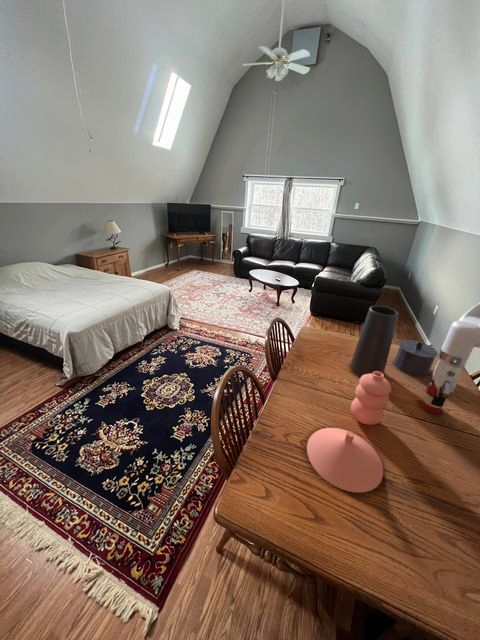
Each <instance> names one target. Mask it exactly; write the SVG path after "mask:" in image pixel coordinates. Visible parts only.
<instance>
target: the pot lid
mask: <svg viewBox="0 0 480 640" xmlns="http://www.w3.org/2000/svg"><path fill="white" fill-rule="evenodd" d="M398 346H399V347H401V349H403V350H404V351H406V352H407V353H409V354H412V355H414V356H418V357H422V358H435V359H436V357H438V355H439V352H438V351H437V350H436V349H435V348H434V347H433V346H431V345H429V344H427V343H425V341H423V340H411V339H403V340H401V341H400V342H399V343H398Z"/></svg>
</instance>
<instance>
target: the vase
mask: <svg viewBox="0 0 480 640" xmlns="http://www.w3.org/2000/svg"><path fill="white" fill-rule="evenodd" d="M399 315H400V313H399V312H398V311H397V310H396V309H394V308H391V307H388V306H385V305H371V306H370V307H369V308H368V311H367V314H366V317H365V320H364V322H363V326H362V328H361V330H360V335H359V337H358V340H357V343H356V346H355V349H354V352H353V355H352V358H351V361H350V364H349V369H350V371H351V372H352V373H353V374H354V375H356V376H358V377H360V378H361V377H362V376H363V375H365V374H373V372H374V371H378V372H381V373H383V375H384V374H385V370H386V366H387V363H388V358H389V354H390V350H391V347H392V342H393V338H394V336H395V331H396V327H397V324H398V319H399Z"/></svg>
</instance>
